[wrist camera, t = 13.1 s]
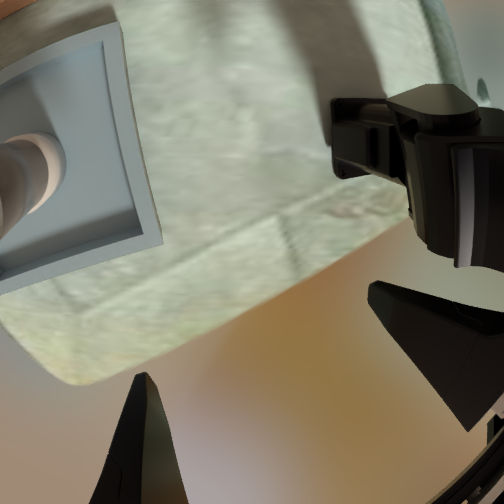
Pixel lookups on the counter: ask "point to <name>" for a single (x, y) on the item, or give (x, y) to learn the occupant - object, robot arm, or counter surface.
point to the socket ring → (12, 6)
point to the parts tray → (78, 159)
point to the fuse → (28, 175)
